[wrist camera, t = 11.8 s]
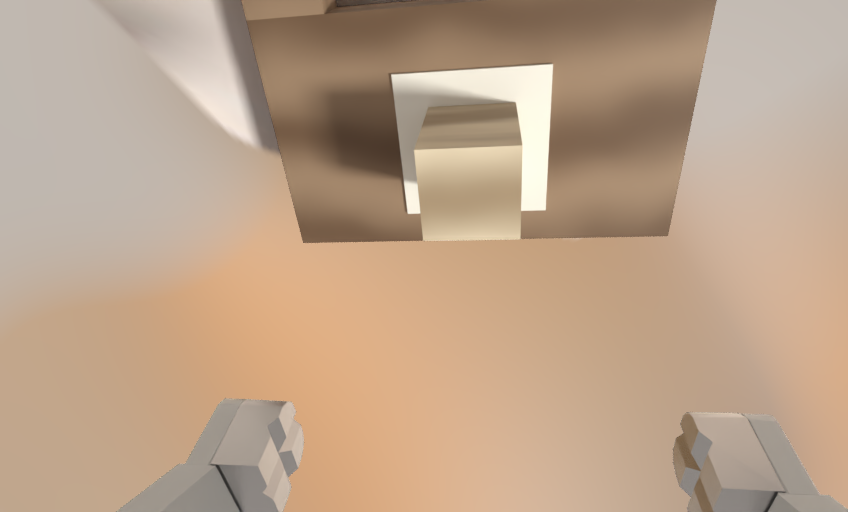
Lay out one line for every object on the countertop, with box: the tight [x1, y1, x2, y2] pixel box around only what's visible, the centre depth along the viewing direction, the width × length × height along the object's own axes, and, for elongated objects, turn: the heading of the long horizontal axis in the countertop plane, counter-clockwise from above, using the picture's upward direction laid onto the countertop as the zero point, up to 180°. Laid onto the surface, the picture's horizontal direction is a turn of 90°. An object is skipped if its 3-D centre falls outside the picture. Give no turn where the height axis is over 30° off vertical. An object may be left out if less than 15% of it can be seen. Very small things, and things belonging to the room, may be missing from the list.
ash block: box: [414, 102, 523, 241], centre depth 24 cm, size 4×4×6 cm
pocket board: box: [241, 0, 716, 243], centre depth 25 cm, size 22×22×3 cm
